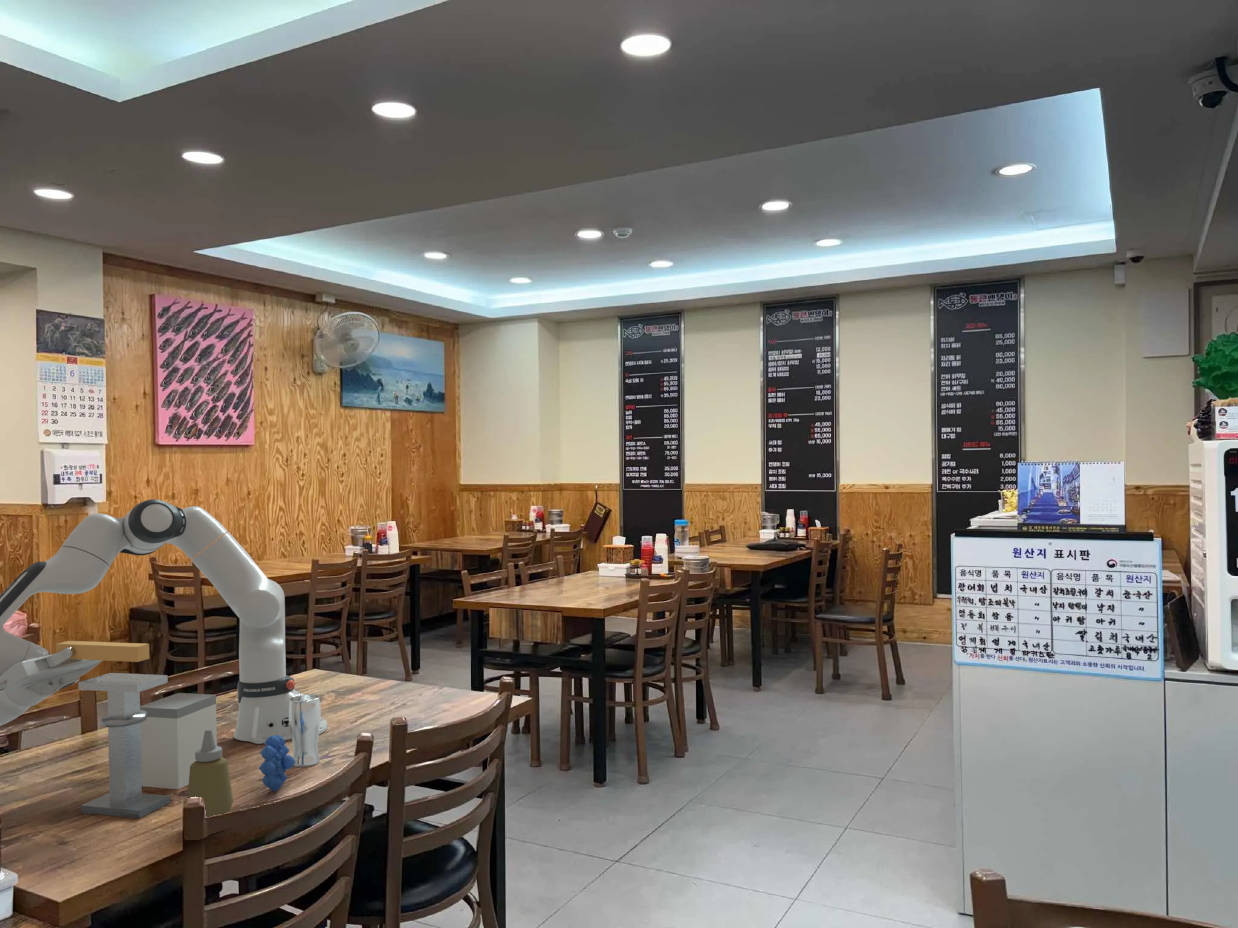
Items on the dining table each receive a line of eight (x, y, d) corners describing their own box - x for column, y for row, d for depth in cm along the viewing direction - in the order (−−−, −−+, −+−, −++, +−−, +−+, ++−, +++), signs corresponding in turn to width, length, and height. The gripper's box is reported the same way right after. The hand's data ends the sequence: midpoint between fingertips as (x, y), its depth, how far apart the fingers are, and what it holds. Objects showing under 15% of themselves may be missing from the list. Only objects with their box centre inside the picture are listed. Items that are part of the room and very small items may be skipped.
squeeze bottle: (196, 817, 172) (194, 725, 172) (239, 815, 173) (237, 723, 173) (179, 834, 164) (177, 737, 164) (224, 832, 164) (222, 735, 165)
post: (81, 812, 176) (78, 681, 176) (113, 797, 183) (110, 672, 183) (139, 818, 172) (137, 684, 172) (170, 802, 180) (167, 675, 180)
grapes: (286, 800, 180) (285, 741, 180) (252, 801, 180) (251, 742, 180) (305, 780, 192) (303, 724, 192) (273, 781, 191) (272, 725, 191)
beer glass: (311, 768, 199) (309, 701, 199) (283, 767, 200) (282, 700, 200) (327, 758, 206) (326, 694, 206) (300, 757, 207) (299, 693, 207)
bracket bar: (56, 658, 180) (55, 643, 180) (68, 655, 183) (68, 640, 183) (137, 661, 175) (137, 646, 175) (149, 658, 178) (149, 643, 178)
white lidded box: (139, 785, 190) (137, 706, 190) (180, 767, 202) (178, 692, 202) (178, 789, 188) (177, 709, 188) (217, 770, 199) (216, 694, 199)
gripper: (-19, 678, 174) (29, 644, 171) (69, 655, 193) (114, 625, 191) (-6, 706, 173) (43, 673, 170) (81, 681, 193) (126, 651, 190)
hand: (81, 648), depth 180 cm, fingers closed on bracket bar, 3 cm apart
